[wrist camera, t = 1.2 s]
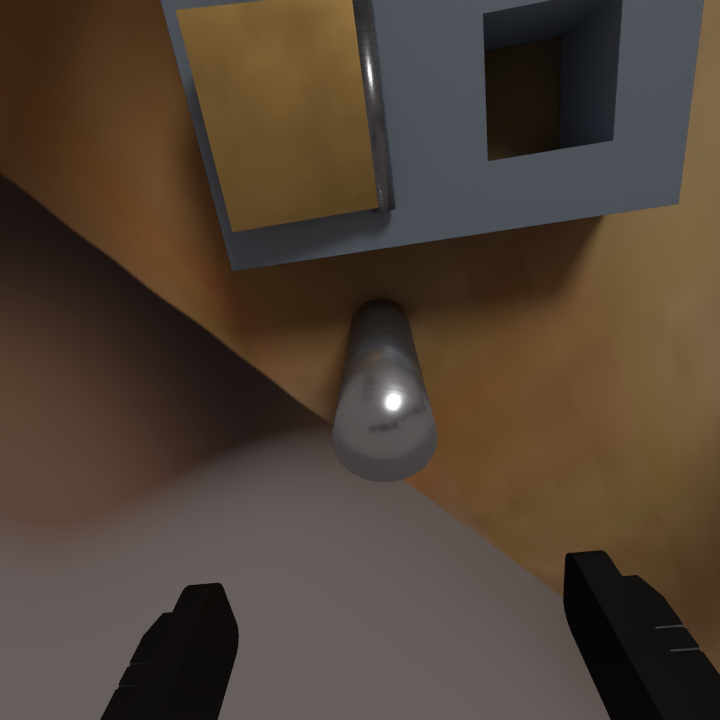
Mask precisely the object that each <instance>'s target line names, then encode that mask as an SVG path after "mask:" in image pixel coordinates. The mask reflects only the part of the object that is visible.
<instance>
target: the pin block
mask: <svg viewBox="0 0 720 720" xmlns="http://www.w3.org/2000/svg"><path fill="white" fill-rule="evenodd" d="M255 1H264V0H161V4H162V8H163V11H164V15H165V19H166V23H167V27H168V30H169V34H170V38H171V42H172V45H173V49H174V53H175V57H176V61H177V64H178V68H179V72H180V76H181V79H182V83H183V87H184V91H185V95H186V98H187V102H188V106H189V110H190V113H191V117H192V121H193V125H194V128H195V132H196V136H197V140H198V144H199V147H200V151H201V155H202V159H203V162H204V166H205V170H206V174H207V178H208V181H209V185H210V189H211V193H212V196H213V200H214V204H215V208H216V212H217V215H218V219H219V223H220V227H221V230H222V234H223V238H224V242H225V246H226V249H227V253H228V257H229V261H230V264H231V268H232V271H238V270H245V269H251V268H258V267H264V266H271V265H278V264H284V263H291V262H297V261H304V260H311V259H317V258H324V257H330V256H337V255H344V254H350V253H357V252H363V251H370V250H377V249H383V248H390V247H396V246H403V245H410V244H416V243H423V242H429V241H436V240H443V239H449V238H456V237H463V236H469V235H476V234H482V233H489V232H496V231H502V230H509V229H515V228H522V227H529V226H535V225H542V224H548V223H555V222H562V221H568V220H575V219H581V218H588V217H595V216H601V215H608V214H614V213H621V212H628V211H634V210H641V209H647V208H654V207H661V206H667V205H674V204H678V203H679V195H680V187H681V179H682V171H683V163H684V155H685V147H686V139H687V131H688V123H689V115H690V107H691V99H692V91H693V83H694V75H695V68H696V60H697V52H698V44H699V36H700V28H701V20H702V12H703V4H704V0H373V8H374V17H375V26H376V35H377V44H378V53H379V62H380V71H381V79H382V88H383V97H384V106H385V115H386V124H387V133H388V142H389V151H390V159H391V168H392V177H393V186H394V195H395V204H396V209H394V210H389V211H383V212H376V213H371V210H370V209H367V210H361V211H355V212H349V213H343V214H338V215H332V216H326V217H320V218H314V219H308V220H302V221H296V222H290V223H284V224H279V225H273V226H267V227H261V228H255V229H249V230H243V231H237V232H232V228H231V224H230V220H229V217H228V213H227V209H226V205H225V201H224V197H223V193H222V189H221V185H220V181H219V177H218V174H217V170H216V166H215V162H214V158H213V154H212V150H211V146H210V142H209V138H208V134H207V131H206V127H205V123H204V119H203V115H202V111H201V107H200V103H199V99H198V95H197V91H196V88H195V84H194V80H193V76H192V72H191V68H190V64H189V60H188V56H187V52H186V48H185V45H184V41H183V37H182V33H181V29H180V25H179V21H178V17H177V13H176V10H180V9H189V8H198V7H208V6H217V5H227V4H236V3H245V2H255ZM561 36H562V43H561V85H560V127H559V150H553V151H547V152H541V153H535V154H529V155H523V156H517V157H511V158H505V159H499V160H493V161H488V153H487V124H486V94H485V64H484V51H487V50H492V49H498V48H503V47H508V46H514V45H519V44H524V43H530V42H535V41H540V40H545V39H551V38H556V37H561Z"/></svg>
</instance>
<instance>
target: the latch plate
mask: <svg viewBox="0 0 720 720" xmlns="http://www.w3.org/2000/svg"><path fill="white" fill-rule="evenodd" d="M176 13H177V17H178V21H179V25H180V29H181V33H182V37H183V41H184V45H185V48H186V52H187V56H188V60H189V64H190V68H191V72H192V76H193V80H194V84H195V88H196V91H197V95H198V99H199V103H200V107H201V111H202V115H203V119H204V123H205V127H206V131H207V134H208V138H209V142H210V146H211V150H212V154H213V158H214V162H215V166H216V170H217V174H218V177H219V181H220V185H221V189H222V193H223V197H224V201H225V205H226V209H227V213H228V217H229V220H230V224H231V228H232V232H237V231H243V230H249V229H255V228H261V227H267V226H273V225H279V224H284V223H290V222H296V221H302V220H308V219H314V218H320V217H326V216H332V215H338V214H343V213H349V212H355V211H361V210H367V209H370V210H371V213H376V212H383V211H389V210H394V209H396V204H395V195H394V186H393V177H392V168H391V159H390V151H389V142H388V133H387V124H386V115H385V106H384V97H383V88H382V79H381V71H380V62H379V53H378V44H377V35H376V26H375V17H374V8H373V0H264V1H255V2H245V3H236V4H227V5H217V6H208V7H198V8H189V9H180V10H176Z"/></svg>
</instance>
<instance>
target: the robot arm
mask: <svg viewBox="0 0 720 720" xmlns="http://www.w3.org/2000/svg"><path fill="white" fill-rule="evenodd" d="M563 602H564V610H565V614H566V618H567V622H568V625H569V627H570V630H571V632H572V635H573V637H574V639H575V641H576V644H577V646H578V648H579V650H580V652H581V655H582V657H583V659H584V661H585V663H586V666H587V668H588V670H589V672H590V675H591V677H592V679H593V681H594V683H595V686H596V688H597V690H598V692H599V695H600V697H601V699H602V701H603V703H604V706H605V708H606V710H607V712H608V715H609V717H610V719H611V720H720V675H719V673H718V672H717V671H716V669H715V668H714V666H713V665H712V664H711V662H710V661H709V659H708V658H707V657H706V655H705V654H704V652H701V651H700V649H699V645H698V644H697V643H696V641H695V640H694V638H693V637H692V636H691V634H690V633H689V631H688V630H687V629H686V628H684V627H683V624H682V622H681V620H680V619H679V617H678V616H677V615H676V613H675V612H674V611H673V609H672V608H671V606H670V605H669V604H668V602H667V601H666V599H665V598H664V597H663V596H662V595H661V594H660V593H659V592H657V591H656V590H655V589H654V588H652V587H651V586H650V585H649V584H648V583H646V582H645V581H644V580H643V579H641V578H640V577H639V576H638V575H632V576H622V575H621V574H620V572H619V571H618V569H617V568H616V566H615V565H614V563H613V561H612V560H611V558H610V557H609V556H608V554H607V553H606V552H604V551H602V550H598V551H587V552H576V553H567V554H566V557H565V574H564V595H563ZM238 639H239V634H238V626H237V623H236V620H235V617H234V615H233V612H232V609H231V607H230V604H229V601H228V599H227V597H226V593H225V591H224V588H223V586H222V585H221V584H220V583H209V584H199V585H189V586H187V587H185V588H184V590H183V591H182V593H181V595H180V597H179V599H178V601H177V603H176V606H175V608H174V610H173V612H170V613H163V614H162V615H161V616H160V617H159V618H158V619H157V621H156V622H155V623H154V624H153V625H152V626H151V627H150V629H149V630H148V631H147V632H146V633H145V634H144V636H143V637H142V639H141V641H140V643H139V645H138V647H137V649H136V651H135V653H134V655H133V657H132V659H131V661H130V666H129V667H127V669H126V671H125V673H124V674H123V677H122V678H121V680H120V682H119V688H118V689H117V690H115V692H114V694H113V696H112V698H111V700H110V702H109V704H108V706H107V708H106V710H105V712H104V714H103V716H102V717H101V719H100V720H218V716H219V713H220V709H221V706H222V703H223V699H224V696H225V692H226V689H227V685H228V682H229V679H230V675H231V671H232V668H233V665H234V661H235V658H236V654H237V649H238Z"/></svg>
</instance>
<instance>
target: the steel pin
mask: <svg viewBox="0 0 720 720" xmlns="http://www.w3.org/2000/svg"><path fill="white" fill-rule="evenodd" d="M332 441H333V447H334V450H335V453H336V455H337V457H338V458H339V460H340V461H341V463H342V464H343V465H344V466H345V467H346V468H347V469H348V470H350V471H351V472H352V473H354V474H356V475H357V476H359V477H362V478H364V479H367V480H371V481H377V482H393V481H398V480H402V479H405V478H408V477H410V476H412V475H414V474H416V473H417V472H419V471H420V470H421V469H422V468H423V467H425V466H426V464H427V463H428V462H429V461H430V459H431V458H432V456H433V454H434V452H435V449H436V445H437V430H436V425H435V421H434V418H433V414H432V410H431V406H430V402H429V398H428V394H427V391H426V387H425V383H424V379H423V375H422V371H421V368H420V364H419V360H418V356H417V352H416V348H415V344H414V341H413V337H412V333H411V329H410V325H409V321H408V318H407V315H406V313H405V312H404V310H403V309H402V308H401V307H400V306H399V305H398V304H396V303H395V302H393V301H390V300H387V299H374V300H370V301H368V302H366V303H364V304H362V305H361V306H360V307H359V308H358V309H357V310H356V312H355V313H354V315H353V318H352V322H351V327H350V333H349V339H348V345H347V351H346V357H345V363H344V368H343V374H342V380H341V386H340V392H339V398H338V404H337V409H336V415H335V421H334V427H333V433H332Z"/></svg>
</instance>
